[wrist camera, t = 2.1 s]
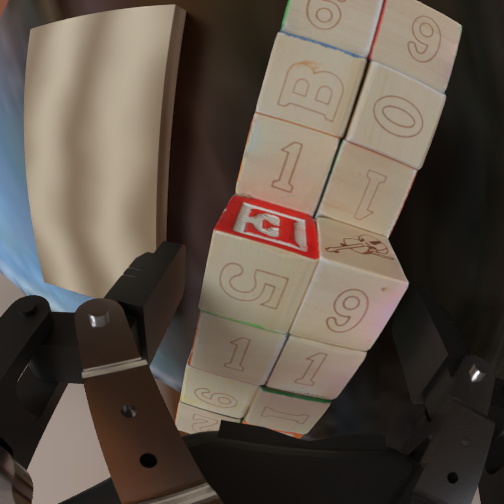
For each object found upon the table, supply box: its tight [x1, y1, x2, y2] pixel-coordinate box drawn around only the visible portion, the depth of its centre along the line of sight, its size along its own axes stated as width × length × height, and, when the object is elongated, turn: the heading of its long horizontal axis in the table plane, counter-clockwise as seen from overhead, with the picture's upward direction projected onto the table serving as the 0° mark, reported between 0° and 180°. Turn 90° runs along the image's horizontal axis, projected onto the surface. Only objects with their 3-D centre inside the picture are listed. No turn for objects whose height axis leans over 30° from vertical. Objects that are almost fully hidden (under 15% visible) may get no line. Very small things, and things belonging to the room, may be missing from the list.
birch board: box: [24, 5, 186, 299], centre depth 20 cm, size 12×22×2 cm, turn 172°
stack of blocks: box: [175, 0, 462, 439], centre depth 15 cm, size 21×6×12 cm, turn 165°
